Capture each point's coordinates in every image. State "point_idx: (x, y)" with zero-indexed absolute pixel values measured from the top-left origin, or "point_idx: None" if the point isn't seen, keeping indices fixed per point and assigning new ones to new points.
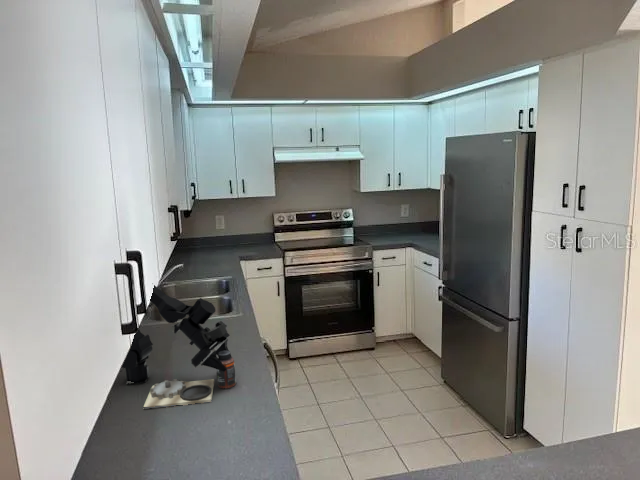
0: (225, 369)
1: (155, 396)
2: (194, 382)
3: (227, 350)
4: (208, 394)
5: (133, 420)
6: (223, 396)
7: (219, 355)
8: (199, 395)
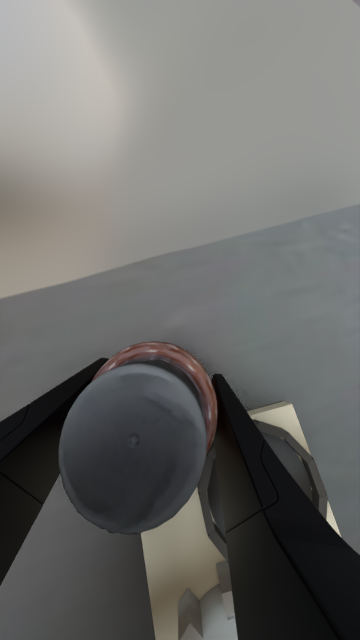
0: (222, 378)
1: None
2: (157, 542)
3: (13, 431)
4: (270, 425)
5: None
6: (241, 370)
7: (192, 487)
8: None
